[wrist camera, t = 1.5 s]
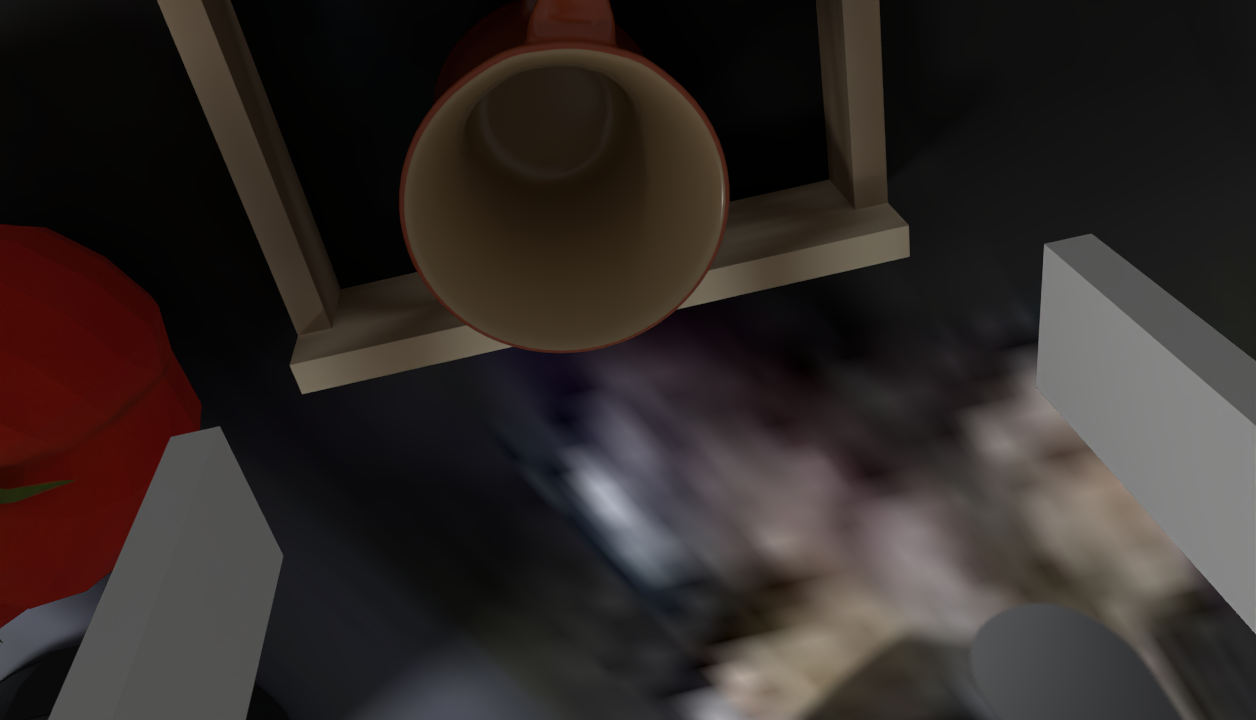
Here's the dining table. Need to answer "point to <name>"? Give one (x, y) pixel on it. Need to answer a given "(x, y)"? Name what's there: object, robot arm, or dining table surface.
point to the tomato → (76, 413)
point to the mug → (561, 182)
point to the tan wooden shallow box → (403, 306)
